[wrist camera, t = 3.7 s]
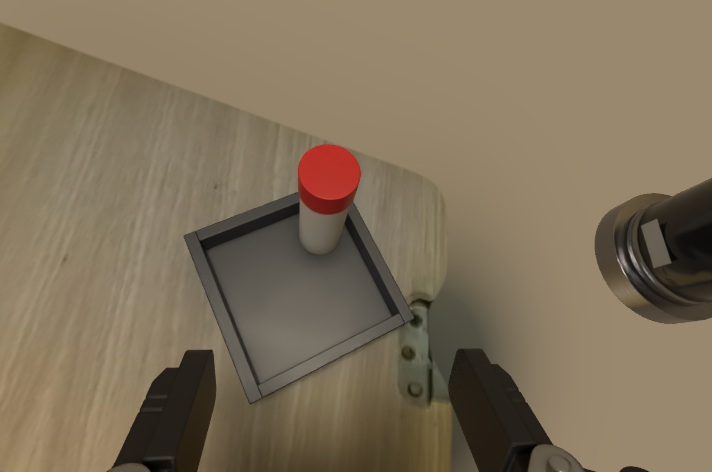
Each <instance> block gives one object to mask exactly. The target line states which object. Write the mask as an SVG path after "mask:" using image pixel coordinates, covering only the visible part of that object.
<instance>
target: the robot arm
mask: <svg viewBox="0 0 712 472" xmlns="http://www.w3.org/2000/svg"><path fill="white" fill-rule="evenodd" d="M627 245H628V251H629V254H630V257H631V260H632V262H633V264H634V266H635V268H636V270H637V271H638V273H639V274H640V276H641V277H642V278H643V280H644V281H645V282H646V283H647V284H648V285H649V286H650V287H651V288H652V289H653V290H654V291H656V292H657V293H658V294H660V295H661V296H663V297H664V298H666V299H668V300H670V301H673V302H675V303H678V304H683V305H701V304H707V303H712V178H711V179H708V180H706V181H704V182H702V183H700V184H698V185H696V186H694V187H691V188H689V189H687V190H685V191H683V192H680V193H678V194H676V195H674V196H672V197H670V198H668V199H666V200H664V201H661V202H657V203H654V204H652V205H650V206H648V207H646V208H644V209H642V210H640V211H639V212H638V213H637V214H636V215H635V216H634V217H633V218H632V220H631V222H630V224H629V227H628V232H627ZM448 390H449V397H450V401H451V403H452V406H453V408H454V411H455V413H456V415H457V418H458V421H459V423H460V426H461V428H462V430H463V433H464V435H465V438H466V440H467V443H468V445H469V448H470V450H471V453H472V455H473V458H474V460H475V463H476V465H477V468H478V470H479V472H595V471H591V470H587V469H585V468H583V467H582V466H581V464H580V463H579V462H578V461H577V460H576V459H575V458H574V457H573V456H572V455H571V454H569V453H568V452H566V451H565V450H563V449H561V448H559V447H557V446H554V445H553V444H552V442H551V441H550V439H549V437H548V436H547V434H546V433H545V431H544V429H543V428H542V426H541V424H540V423H539V421H538V420H537V418H536V416H535V415H534V413H533V412H532V410H531V408H530V407H529V405H528V403H526V402H525V399H524V397H523V395H522V394H521V392H519V390H518V387H517V386H516V384H515V382H514V381H513V380H512V378H511V376H510V375H509V374H508V373H507V372H506V371H504V370H503V369H502V368H501V367H500V366H499V365H498V364H491V363H490V361H489V360H488V358H487V356H486V354H485V353H484V352H483V350H482V349H458V350H457V352H456V356H455V360H454V364H453V367H452V371H451V375H450V379H449V384H448ZM215 398H216V378H215V366H214V355H213V351H212V350H187V351H186V352H185V354H184V356H183V359H182V361H181V364H180V366H179V368H166V369H165V370H164V371H163V372H162V373H161V374H160V375H159V376H158V377H157V378H156V379H155V380H154V381H153V382H152V384H151V387H150V389H149V391H148V393H147V395H146V399H145V400H144V401H143V404H142V406H141V408H140V412H139V413H138V414H137V416H136V419H135V421H134V423H133V425H132V427H131V429H130V431H129V434H128V436H127V438H126V440H125V442H124V444H123V446H122V449H121V451H120V453H119V455H118V457H117V459H116V461H115V463H114V465H113V467H112V468H111V469H110V470H108V471H107V472H197V470H198V466H199V462H200V458H201V454H202V451H203V447H204V443H205V439H206V435H207V432H208V428H209V424H210V420H211V416H212V413H213V409H214V404H215ZM620 472H648V471H647V470H644V469H641V468H638V467H632V466H629V467H625V468H623V469H621V471H620Z"/></svg>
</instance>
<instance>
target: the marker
mask: <svg viewBox="0 0 712 472" xmlns="http://www.w3.org/2000/svg"><path fill="white" fill-rule="evenodd" d="M360 176H361V172H360V167H359V164H358V162H357V160H356V159H355V157H354V156H353V155H352V154H351V153H350V152H349V151H347V150H346V149H344V148H342V147H339V146H336V145H320V146H316V147H314V148H312V149H310V150H309V151H308V152H306V153H305V154H304V156H303V157H302V159H301V160H300V163H299V167H298V192H299V196H300V216H299V239H300V242H301V244H302V246H303V247H304V248H305V249H306V250H307V251H308V252H310V253H312V254H316V255H324V254H327V253H329V252H331V251H332V250H334V249H335V247H336V246H337V244H338V242H339V239H340V235H341V232H342V229H343V226H344V223H345V219H346V216H347V213H348V210H349V207H350V204H351V203H352V201H353V199H354V197H355V194H356V191H357V188H358V184H359V181H360Z"/></svg>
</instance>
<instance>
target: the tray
mask: <svg viewBox="0 0 712 472" xmlns="http://www.w3.org/2000/svg"><path fill="white" fill-rule="evenodd" d="M299 216H300V196H299V192H297V193H294V194H292V195H289V196H286V197H284V198H281V199H278V200H276V201H273V202H271V203H268V204H265V205H263V206H260V207H257V208H255V209H252V210H250V211H247V212H244V213H242V214H239V215H236V216H234V217H231V218H228V219H226V220H223V221H221V222H218V223H215V224H213V225H210V226H207V227H205V228H202V229H200V230H197V231H196V232H195V231H194V232H191V233H189V234H186V235H184V239H185V241H186V244H187V246H188V249H189V251H190V254H191V256H192V259H193V261H194V264H195V267H196V269H197V272H198V274H199V277H200V279H201V282H202V284H203V287H204V289H205V292H206V295H207V297H208V300H209V302H210V305H211V307H212V310H213V312H214V315H215V317H216V320H217V322H218V325H219V328H220V330H221V333H222V335H223V338H224V340H225V343H226V345H227V348H228V350H229V353H230V356H231V358H232V361H233V363H234V366H235V368H236V371H237V373H238V376H239V378H240V381H241V383H242V386H243V389H244V391H245V394H246V396H247V399H248V401H249V404H252V403H254V402H256V401H258V400H260V399H262V398H263V397H265V396H267V395H269V394H271V393H273V392H275V391H277V390H279V389H281V388H283V387H285V386H286V385H288V384H290V383H292V382H294V381H296V380H298V379H300V378H302V377H304V376H306V375H308V374H309V373H311V372H313V371H315V370H317V369H319V368H321V367H323V366H325V365H327V364H329V363H331V362H332V361H334V360H336V359H338V358H340V357H342V356H344V355H346V354H348V353H350V352H352V351H354V350H355V349H357V348H359V347H361V346H363V345H365V344H367V343H369V342H371V341H373V340H375V339H377V338H378V337H380V336H382V335H384V334H386V333H388V332H390V331H392V330H394V329H396V328H398V327H399V326H401V325H403V324H405V323H407V322H409V321H411V320H413V319H414V316H413V314H412V312H411V310H410V308H409V306H408V305H407V303H406V301H405V299H404V297H403V295H402V293H401V291H400V289H399V287H398V286H397V284H396V282H395V280H394V278H393V276H392V274H391V272H390V270H389V268H388V267H387V265H386V263H385V261H384V259H383V257H382V255H381V253H380V251H379V250H378V248H377V246H376V244H375V242H374V240H373V238H372V236H371V234H370V232H369V231H368V229H367V227H366V225H365V223H364V221H363V219H362V217H361V215H360V214H359V212H358V210H357V208H356V206H355V204H354V202H353V201H352V203H351V204H350V207H349V210H348V213H347V216H346V219H345V223H344V226H343V229H342V232H341V235H340V239H339V242H338V244H337V246H336V247H335V249H334V250H332V251H331V252H329V253H327V254H324V255H316V254H312V253H310V252H308V251H307V250H306V249H305V248H304V247H303V246H302V244H301V242H300V239H299Z"/></svg>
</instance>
